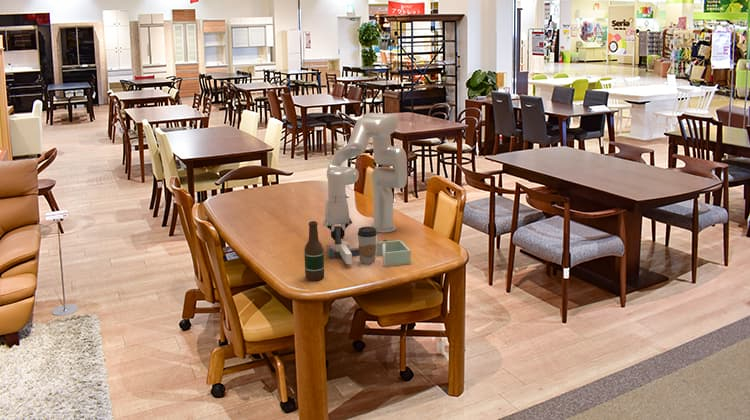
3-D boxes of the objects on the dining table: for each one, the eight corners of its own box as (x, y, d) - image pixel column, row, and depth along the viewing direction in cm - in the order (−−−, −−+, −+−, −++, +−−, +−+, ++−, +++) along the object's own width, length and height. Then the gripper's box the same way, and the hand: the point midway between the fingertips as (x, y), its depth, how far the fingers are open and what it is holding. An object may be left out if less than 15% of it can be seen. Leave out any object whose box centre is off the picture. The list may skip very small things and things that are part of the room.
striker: (334, 251, 312) (333, 225, 309) (347, 250, 313) (346, 224, 310) (342, 264, 296) (341, 237, 293) (356, 263, 298) (355, 236, 294)
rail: (327, 255, 312) (327, 245, 311) (386, 250, 319) (386, 239, 318) (329, 259, 308) (329, 248, 306) (389, 253, 314) (389, 243, 313)
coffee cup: (360, 266, 300) (360, 232, 295) (355, 259, 307) (355, 227, 303) (379, 264, 302) (379, 231, 298) (374, 257, 309) (373, 225, 305)
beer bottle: (324, 274, 291) (323, 219, 284) (323, 281, 283) (322, 224, 277) (305, 274, 291) (303, 219, 284) (304, 281, 283) (302, 225, 276)
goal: (373, 255, 313) (373, 234, 310) (400, 252, 316) (400, 231, 313) (383, 266, 299) (382, 244, 296) (410, 263, 302) (410, 241, 299)
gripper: (353, 194, 309) (353, 234, 314) (316, 197, 305) (318, 237, 310) (357, 199, 302) (357, 239, 307) (320, 202, 298) (321, 243, 303)
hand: (337, 238), depth 309 cm, fingers closed on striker, 3 cm apart
